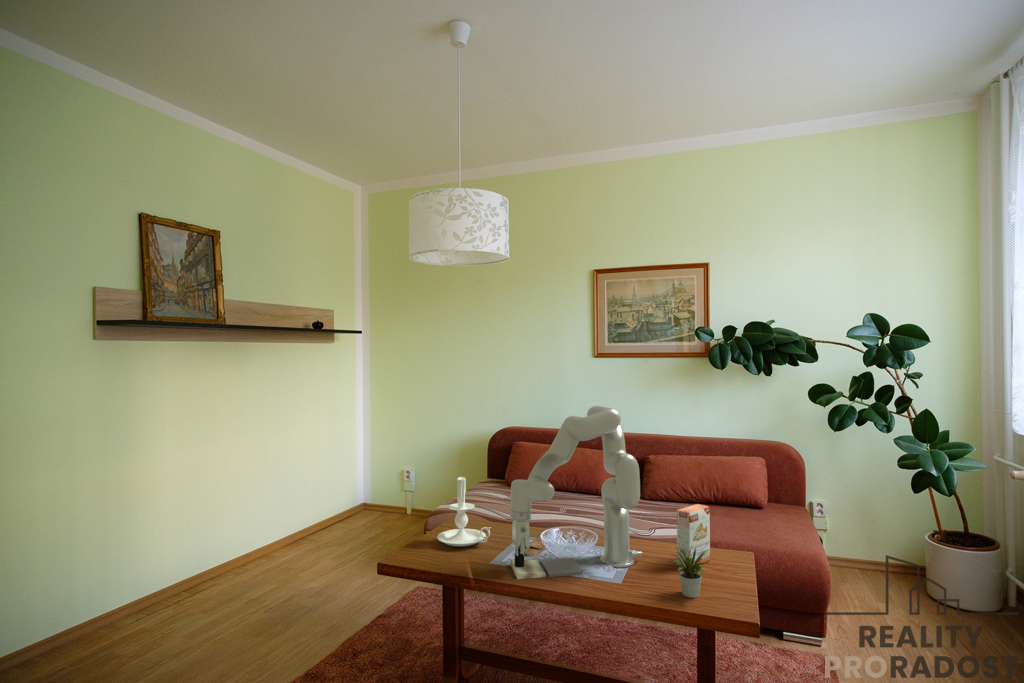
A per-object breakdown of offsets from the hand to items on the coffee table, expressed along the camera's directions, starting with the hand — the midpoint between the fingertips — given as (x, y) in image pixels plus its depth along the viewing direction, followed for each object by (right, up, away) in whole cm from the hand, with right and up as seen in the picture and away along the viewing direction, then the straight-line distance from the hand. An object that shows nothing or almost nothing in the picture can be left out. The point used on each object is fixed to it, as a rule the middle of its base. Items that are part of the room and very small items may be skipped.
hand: (519, 566), depth 201 cm
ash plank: (+3, -2, +1) cm, 4 cm away
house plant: (+55, -2, -18) cm, 58 cm away
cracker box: (+66, -3, +9) cm, 67 cm away
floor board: (+15, -3, +3) cm, 16 cm away
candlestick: (-22, -5, +34) cm, 41 cm away
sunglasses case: (+7, -4, +23) cm, 24 cm away
